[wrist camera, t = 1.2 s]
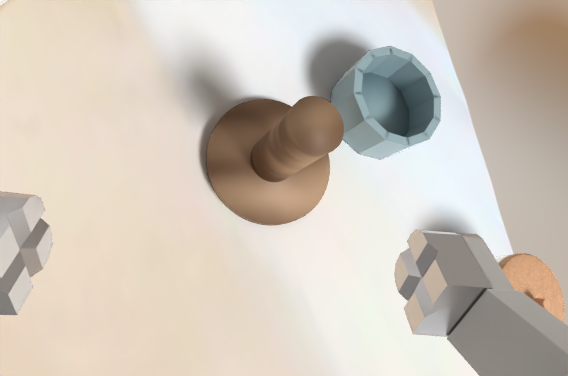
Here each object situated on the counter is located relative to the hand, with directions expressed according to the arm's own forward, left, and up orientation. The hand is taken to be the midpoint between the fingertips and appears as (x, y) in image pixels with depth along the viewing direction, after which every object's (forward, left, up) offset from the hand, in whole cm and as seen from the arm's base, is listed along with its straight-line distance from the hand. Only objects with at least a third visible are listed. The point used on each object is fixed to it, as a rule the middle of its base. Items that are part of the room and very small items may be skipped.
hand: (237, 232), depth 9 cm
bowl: (-8, +31, -30) cm, 44 cm away
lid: (-6, +15, -31) cm, 34 cm away
